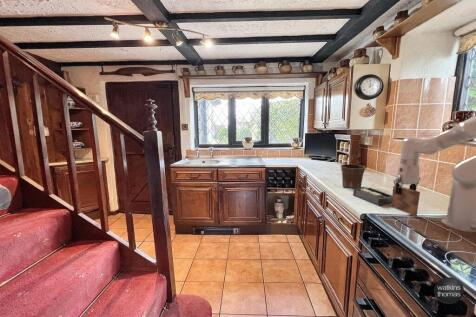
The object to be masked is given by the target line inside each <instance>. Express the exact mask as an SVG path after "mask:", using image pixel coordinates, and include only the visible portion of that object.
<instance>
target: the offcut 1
mask: <svg viewBox="0 0 476 317" xmlns="http://www.w3.org/2000/svg"><path fill="white" fill-rule="evenodd" d="M359 189H360V191H361V192H364V193H367V194H369V192H372V191H370V190H367V189H363V188H359Z"/></svg>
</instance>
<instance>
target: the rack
mask: <svg viewBox="0 0 476 317" xmlns="http://www.w3.org/2000/svg"><path fill="white" fill-rule="evenodd" d="M360 189H361V188H358V189H354V188H353V190H352V191H353V193H352V196H353V197H356V198H358V199H361V200H363V201H366V202H368V203H370V204H373V205H375V206H377V207H378V206H386V205H391V203H392V195H391V194H389V193H387V192H383V191H380V190H377V189H374V188H373V187H366V188H362V189H367V190H370V191H372V192H376V193H379V194H381V195H382V196H381V198H377V197H375V196H372V195H369V194H367V193H364V192H361V191H360Z"/></svg>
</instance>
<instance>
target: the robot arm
mask: <svg viewBox="0 0 476 317" xmlns="http://www.w3.org/2000/svg"><path fill="white" fill-rule="evenodd" d="M473 139H476V115H474V116H472V117H470V118H468V119H466V120H464V121H461V122H459V123H457V124H456V125H455V126H453V127H452V128H450V129H448V130H446V131H444V132H442V133H440V134H438V135H435V136H434V137H430V138H426V139H421V138H415V137H407V138H404V139H403V140H402V144H401V146H402V147H401V152H400V153H401V154H400V155H401V156H400V164H399V166H398V170H397V173H396V174H397V175H396V177H394V178H393V184H394V186H396V189H395V194H398V195H402V188H401V187H404V185H409V187H408V189H411V190H415V191H417V187H418V184H419V183H420V181H421V176H420V165H419V161H420V155H421V154H423V155H426V156H427V155H428V156H429V155H434V154H437V153H439V152H441V151H443V150H446V149H448V148H451V147H454V146H455V145H458V144H460V143H464V142H469V141H472V140H473ZM451 175H452V177H453V178H452V183H451V187H450V188H451V189H450V194H449V195H450V196H449V201H448V205H447V206H448V208H447V213H446V217H445V218H442V219H441V220H440V221H441V223H442V224H443V226H445V227H448V228H451V229H454V230H457V231H460V232H465V233H476V155H474V156H472V157H469V158H466V159H462V160H460V161H458V162H457V163H456V164H455V165H454V166H453V167H452V169H451Z"/></svg>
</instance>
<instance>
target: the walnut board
mask: <svg viewBox="0 0 476 317" xmlns="http://www.w3.org/2000/svg"><path fill="white" fill-rule="evenodd" d="M401 188H402V195H398V194H395V189H396V186H395V185H393V187H392V203H391V204H390V207H391V208H394V209H397V210H398V211H401V212H405V213H407V214H408V216H410V217H413V218H414V217H417V215H418V211H419V210H418V209H419V202H420V196H421V191H418V190H416V191H415V190H411V189H409V187H404V186H402V187H401Z"/></svg>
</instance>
